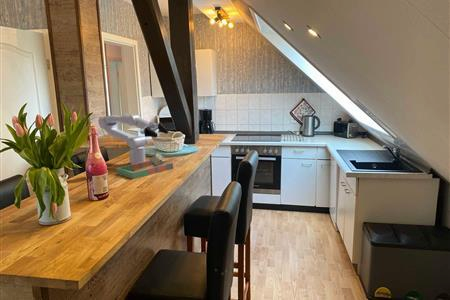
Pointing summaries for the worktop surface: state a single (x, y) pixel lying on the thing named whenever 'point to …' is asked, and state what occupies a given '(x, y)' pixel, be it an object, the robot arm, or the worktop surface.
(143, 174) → the trap track
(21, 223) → the worktop surface
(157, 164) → the game die
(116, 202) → the worktop surface
